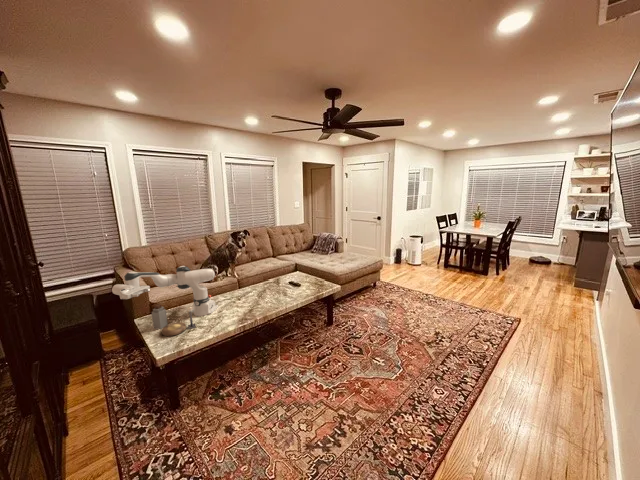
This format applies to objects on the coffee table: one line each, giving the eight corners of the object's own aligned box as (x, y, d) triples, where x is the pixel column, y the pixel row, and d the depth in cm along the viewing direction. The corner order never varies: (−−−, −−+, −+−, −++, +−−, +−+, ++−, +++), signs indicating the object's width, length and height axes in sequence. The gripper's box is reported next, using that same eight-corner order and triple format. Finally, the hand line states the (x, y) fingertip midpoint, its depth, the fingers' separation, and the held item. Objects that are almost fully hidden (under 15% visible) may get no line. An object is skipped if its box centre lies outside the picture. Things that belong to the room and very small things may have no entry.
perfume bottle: (167, 324, 208) (165, 303, 205) (160, 329, 201) (158, 307, 198) (160, 324, 209) (158, 303, 206) (153, 328, 203) (150, 306, 200)
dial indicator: (188, 326, 205) (186, 306, 202) (195, 324, 208) (193, 304, 205) (188, 329, 201) (186, 308, 198) (195, 327, 203) (193, 307, 200)
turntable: (173, 324, 208) (172, 321, 207) (190, 326, 204) (190, 322, 204) (157, 334, 192) (156, 331, 192) (175, 336, 189) (175, 333, 188)
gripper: (142, 290, 218) (155, 291, 215) (118, 299, 199) (132, 301, 195) (141, 282, 217) (154, 284, 213) (117, 292, 197) (131, 294, 194)
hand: (144, 292), depth 204 cm, fingers open, 8 cm apart
